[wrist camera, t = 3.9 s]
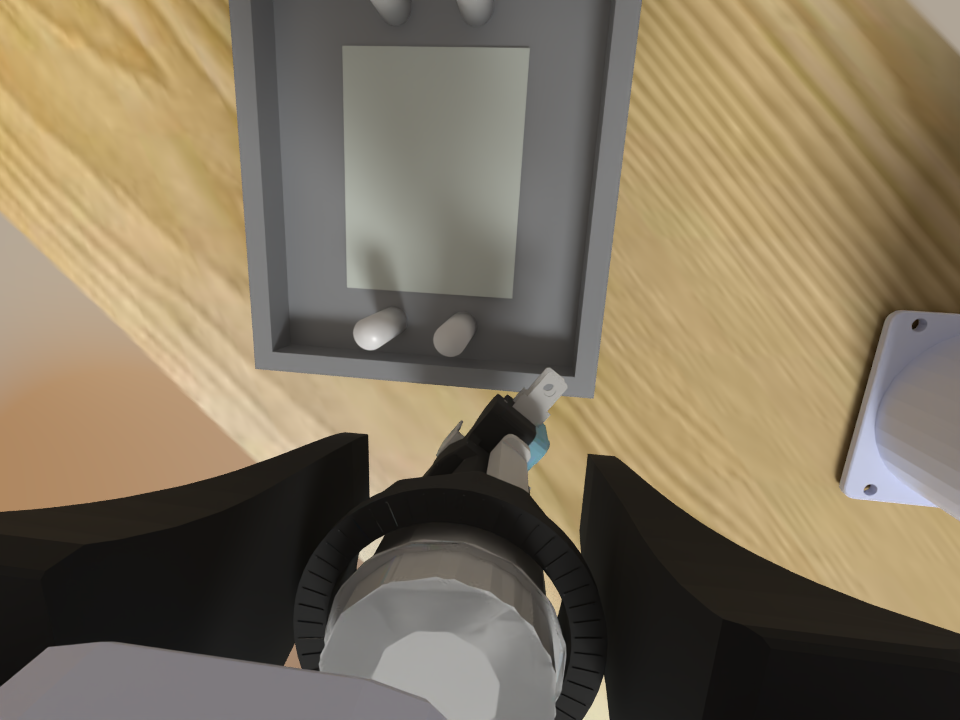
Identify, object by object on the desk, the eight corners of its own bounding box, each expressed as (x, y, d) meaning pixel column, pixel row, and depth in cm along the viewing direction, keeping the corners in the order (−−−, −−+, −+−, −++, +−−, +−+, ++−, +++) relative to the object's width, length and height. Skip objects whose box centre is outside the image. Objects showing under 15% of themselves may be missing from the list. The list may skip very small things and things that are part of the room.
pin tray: (638, -54, 16) (667, -140, 13) (587, 381, 20) (598, 412, 17) (261, -51, 18) (189, -127, 14) (284, 355, 22) (232, 378, 18)
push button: (498, 322, 16) (467, 367, 6) (616, 420, 16) (771, 619, 6) (382, 462, 17) (196, 693, 7) (494, 553, 17) (461, 902, 7)
